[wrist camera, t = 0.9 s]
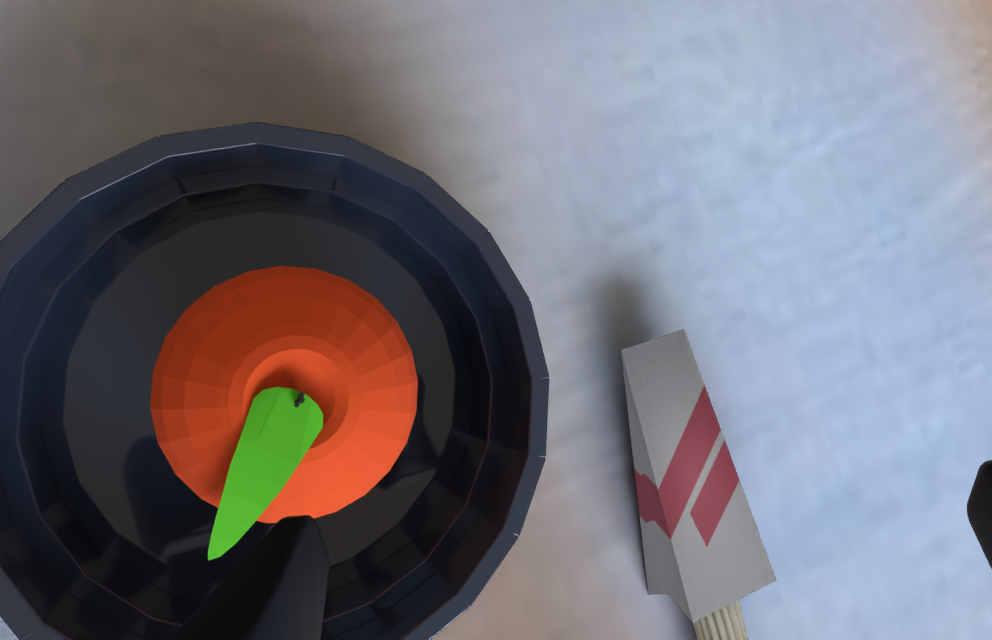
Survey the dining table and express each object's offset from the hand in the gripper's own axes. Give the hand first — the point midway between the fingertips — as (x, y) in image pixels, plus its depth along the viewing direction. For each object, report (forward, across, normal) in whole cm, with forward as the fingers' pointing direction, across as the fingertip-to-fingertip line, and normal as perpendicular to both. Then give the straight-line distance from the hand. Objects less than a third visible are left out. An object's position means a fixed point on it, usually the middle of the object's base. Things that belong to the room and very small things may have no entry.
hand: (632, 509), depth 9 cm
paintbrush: (+11, -3, +17) cm, 20 cm away
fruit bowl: (+10, +10, +6) cm, 16 cm away
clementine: (+10, +10, +6) cm, 15 cm away
